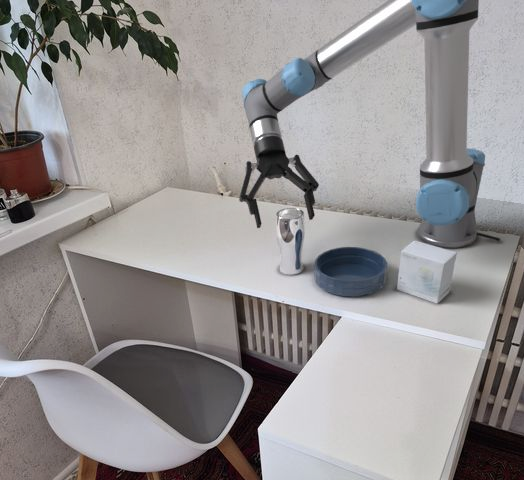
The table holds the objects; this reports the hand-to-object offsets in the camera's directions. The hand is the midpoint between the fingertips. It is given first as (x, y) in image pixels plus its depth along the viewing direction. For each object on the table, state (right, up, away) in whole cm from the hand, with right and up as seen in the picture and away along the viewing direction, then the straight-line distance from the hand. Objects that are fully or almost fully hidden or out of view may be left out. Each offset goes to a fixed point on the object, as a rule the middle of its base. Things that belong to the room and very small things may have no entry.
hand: (286, 221), depth 126 cm
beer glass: (+2, -11, +4) cm, 12 cm away
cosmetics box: (+32, -18, -7) cm, 37 cm away
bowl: (+16, -14, -1) cm, 21 cm away
